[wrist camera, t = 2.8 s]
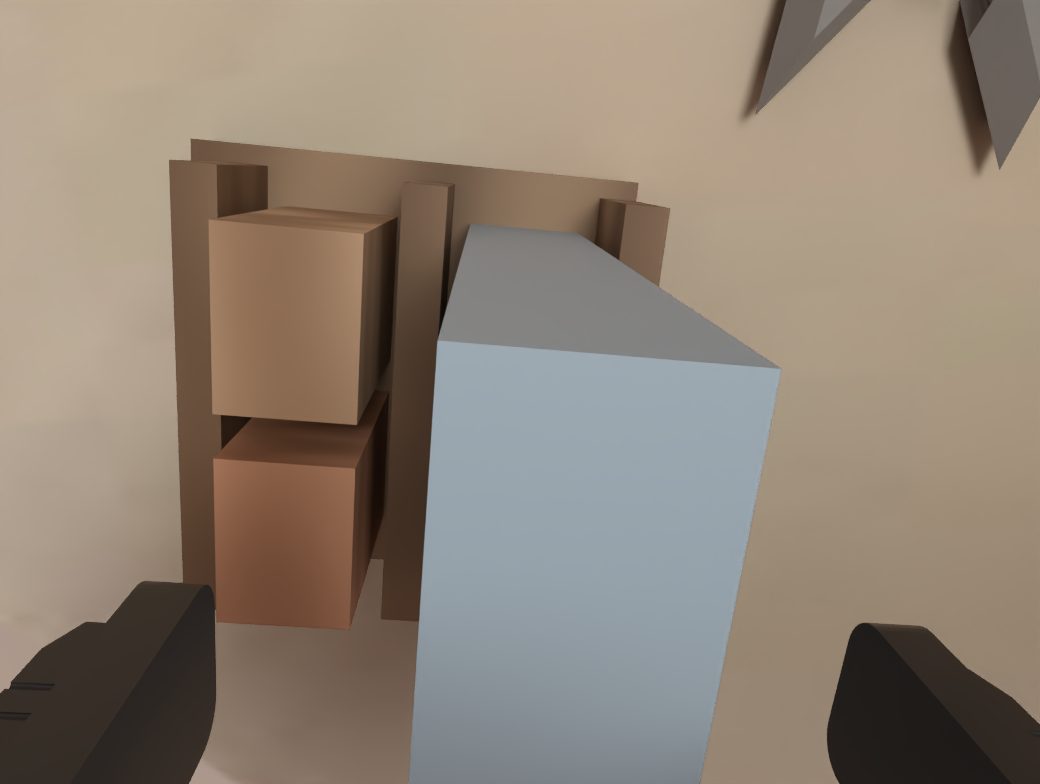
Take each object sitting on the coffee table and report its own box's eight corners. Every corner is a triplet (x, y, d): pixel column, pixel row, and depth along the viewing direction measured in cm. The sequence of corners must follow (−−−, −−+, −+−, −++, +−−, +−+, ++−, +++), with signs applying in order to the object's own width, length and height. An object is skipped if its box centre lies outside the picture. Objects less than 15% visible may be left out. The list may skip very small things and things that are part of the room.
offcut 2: (389, 390, 22) (355, 468, 16) (383, 515, 23) (349, 629, 17) (284, 382, 22) (213, 458, 16) (284, 508, 23) (216, 622, 17)
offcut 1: (397, 216, 21) (364, 233, 15) (390, 358, 22) (356, 424, 16) (286, 205, 20) (208, 219, 15) (285, 349, 22) (212, 414, 16)
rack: (628, 182, 22) (673, 185, 17) (580, 549, 25) (606, 648, 20) (210, 140, 21) (119, 130, 16) (217, 525, 25) (144, 623, 19)
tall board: (578, 233, 21) (782, 369, 7) (544, 526, 23) (638, 1088, 9) (470, 223, 21) (437, 341, 6) (448, 519, 23) (388, 1085, 9)
